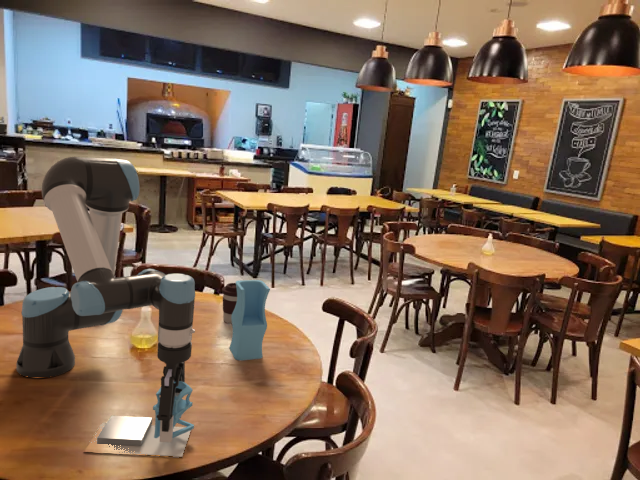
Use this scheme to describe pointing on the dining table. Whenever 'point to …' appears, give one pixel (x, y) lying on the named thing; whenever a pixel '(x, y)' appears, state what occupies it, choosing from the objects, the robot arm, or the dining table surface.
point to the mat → (157, 444)
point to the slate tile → (125, 430)
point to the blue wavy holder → (249, 320)
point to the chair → (176, 410)
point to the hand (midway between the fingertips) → (170, 428)
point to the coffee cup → (229, 301)
